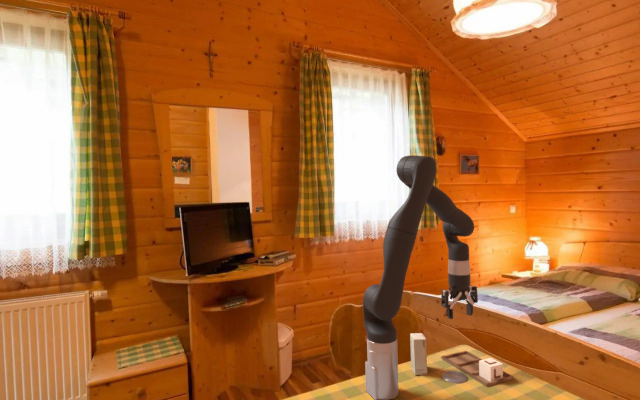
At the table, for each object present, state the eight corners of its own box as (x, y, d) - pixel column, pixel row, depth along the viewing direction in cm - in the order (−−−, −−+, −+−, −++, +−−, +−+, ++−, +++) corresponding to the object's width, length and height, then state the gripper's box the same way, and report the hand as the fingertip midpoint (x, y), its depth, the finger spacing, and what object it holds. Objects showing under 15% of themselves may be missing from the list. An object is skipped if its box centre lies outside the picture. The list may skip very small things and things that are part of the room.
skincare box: (427, 375, 132) (426, 339, 132) (414, 375, 132) (413, 340, 132) (423, 366, 139) (422, 332, 138) (410, 366, 139) (409, 332, 138)
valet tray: (486, 387, 123) (486, 383, 123) (441, 359, 144) (441, 356, 144) (513, 380, 127) (513, 376, 127) (465, 353, 148) (465, 350, 148)
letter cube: (491, 382, 125) (490, 366, 125) (479, 375, 130) (479, 360, 130) (503, 379, 127) (502, 363, 127) (491, 372, 132) (490, 357, 132)
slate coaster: (452, 386, 125) (452, 384, 125) (436, 375, 132) (436, 373, 132) (472, 381, 128) (472, 379, 127) (455, 370, 135) (455, 368, 135)
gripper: (449, 276, 135) (450, 323, 135) (482, 271, 140) (483, 316, 140) (435, 272, 142) (436, 316, 142) (467, 267, 147) (468, 310, 147)
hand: (460, 316), depth 141 cm, fingers open, 8 cm apart
